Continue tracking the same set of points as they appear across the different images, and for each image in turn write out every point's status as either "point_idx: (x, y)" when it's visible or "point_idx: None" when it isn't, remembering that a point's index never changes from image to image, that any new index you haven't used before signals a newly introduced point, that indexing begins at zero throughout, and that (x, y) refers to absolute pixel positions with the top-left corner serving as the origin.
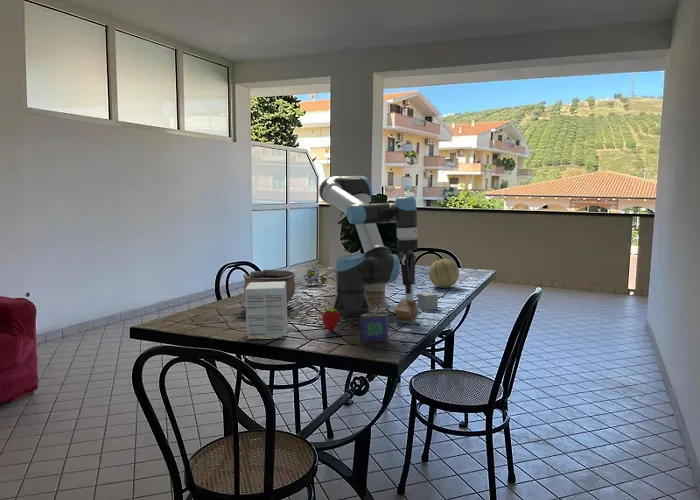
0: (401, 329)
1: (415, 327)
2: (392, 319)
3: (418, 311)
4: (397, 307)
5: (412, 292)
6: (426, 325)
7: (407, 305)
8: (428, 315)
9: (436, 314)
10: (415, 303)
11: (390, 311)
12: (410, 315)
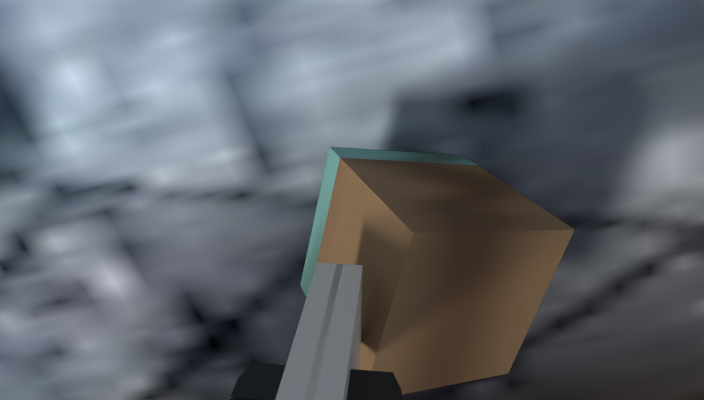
0: (682, 199)
1: (594, 100)
2: None
3: (345, 159)
4: (481, 366)
5: (339, 354)
6: (498, 15)
7: (475, 289)
8: (125, 94)
9: (52, 28)
10: (411, 219)
11: (149, 390)
12: (520, 199)
